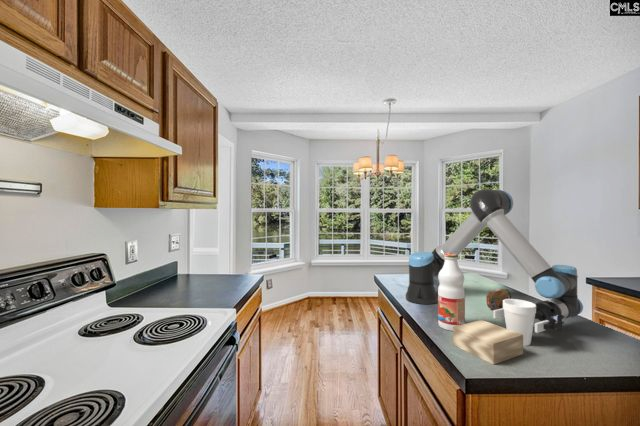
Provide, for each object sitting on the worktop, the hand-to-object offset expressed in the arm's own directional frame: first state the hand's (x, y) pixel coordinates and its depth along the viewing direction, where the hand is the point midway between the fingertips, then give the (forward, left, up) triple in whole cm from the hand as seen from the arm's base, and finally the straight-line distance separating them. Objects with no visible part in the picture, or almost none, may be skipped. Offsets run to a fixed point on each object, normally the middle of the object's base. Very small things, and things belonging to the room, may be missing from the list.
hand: (513, 320), depth 98 cm
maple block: (-1, -12, -7) cm, 14 cm away
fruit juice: (-19, -7, -8) cm, 22 cm away
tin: (-25, +30, -8) cm, 40 cm away
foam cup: (0, +3, -8) cm, 8 cm away
